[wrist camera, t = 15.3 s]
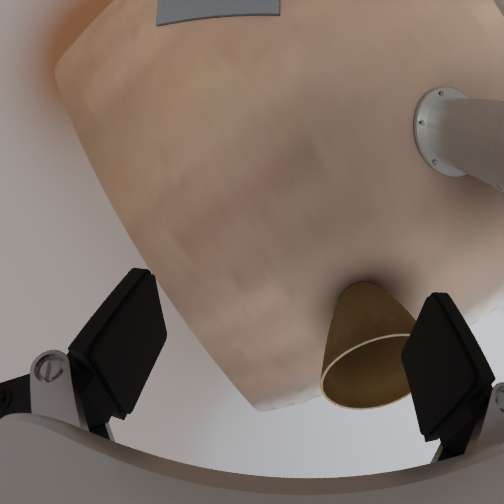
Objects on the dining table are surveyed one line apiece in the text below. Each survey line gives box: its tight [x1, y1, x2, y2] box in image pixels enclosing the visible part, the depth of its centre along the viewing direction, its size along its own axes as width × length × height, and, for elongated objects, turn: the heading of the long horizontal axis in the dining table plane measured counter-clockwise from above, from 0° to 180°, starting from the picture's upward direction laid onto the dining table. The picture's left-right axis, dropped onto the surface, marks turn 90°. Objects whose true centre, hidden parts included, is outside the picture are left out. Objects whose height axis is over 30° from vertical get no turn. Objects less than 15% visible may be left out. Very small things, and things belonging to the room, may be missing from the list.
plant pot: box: [320, 282, 416, 410], centre depth 35 cm, size 15×15×16 cm
